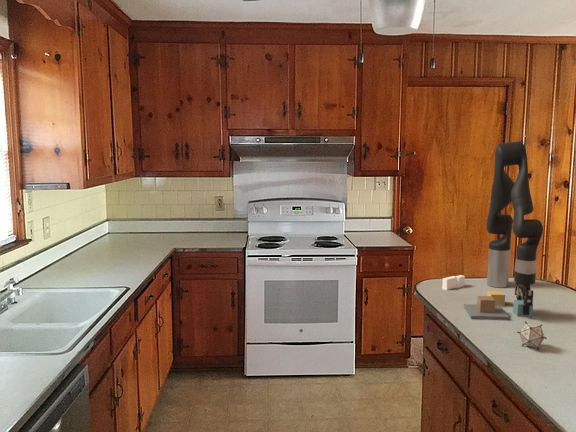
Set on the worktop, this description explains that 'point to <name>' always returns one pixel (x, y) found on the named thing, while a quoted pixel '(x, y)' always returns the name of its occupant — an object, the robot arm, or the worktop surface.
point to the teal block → (521, 309)
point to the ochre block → (498, 297)
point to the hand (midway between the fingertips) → (522, 311)
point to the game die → (532, 335)
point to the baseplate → (488, 316)
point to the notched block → (453, 282)
